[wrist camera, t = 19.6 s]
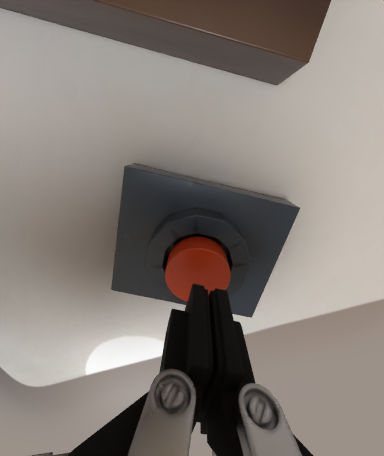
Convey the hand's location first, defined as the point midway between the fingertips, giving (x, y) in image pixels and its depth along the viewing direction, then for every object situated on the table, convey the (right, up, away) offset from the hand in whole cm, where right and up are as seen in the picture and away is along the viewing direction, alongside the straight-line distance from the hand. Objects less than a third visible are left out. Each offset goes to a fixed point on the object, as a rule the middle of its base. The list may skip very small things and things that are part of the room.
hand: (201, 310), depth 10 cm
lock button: (0, +2, +4) cm, 5 cm away
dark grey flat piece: (0, +3, +8) cm, 8 cm away
